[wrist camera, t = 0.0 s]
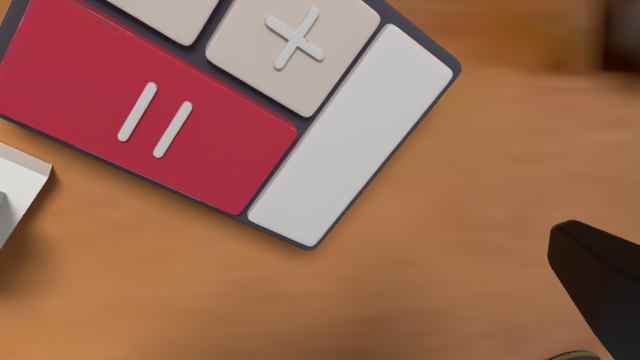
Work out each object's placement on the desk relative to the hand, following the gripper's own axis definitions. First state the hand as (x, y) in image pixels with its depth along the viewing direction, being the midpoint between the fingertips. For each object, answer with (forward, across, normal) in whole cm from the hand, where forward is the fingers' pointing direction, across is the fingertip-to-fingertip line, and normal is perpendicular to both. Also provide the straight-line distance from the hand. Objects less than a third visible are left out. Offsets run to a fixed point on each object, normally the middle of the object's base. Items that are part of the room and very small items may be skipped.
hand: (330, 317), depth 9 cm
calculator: (+15, 0, 0) cm, 15 cm away
